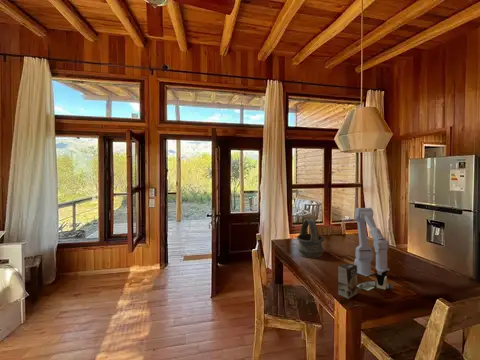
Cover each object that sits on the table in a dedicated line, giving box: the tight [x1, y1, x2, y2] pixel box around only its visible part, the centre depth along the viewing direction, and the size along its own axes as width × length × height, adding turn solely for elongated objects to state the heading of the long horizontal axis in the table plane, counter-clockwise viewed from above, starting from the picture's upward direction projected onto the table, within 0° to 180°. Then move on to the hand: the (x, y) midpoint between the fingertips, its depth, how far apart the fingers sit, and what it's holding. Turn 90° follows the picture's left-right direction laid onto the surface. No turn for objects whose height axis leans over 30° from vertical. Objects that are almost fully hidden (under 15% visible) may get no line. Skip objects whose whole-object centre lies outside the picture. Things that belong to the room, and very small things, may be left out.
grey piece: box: [358, 280, 394, 291], centre depth 141 cm, size 6×19×3 cm, turn 87°
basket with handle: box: [296, 218, 325, 259], centre depth 201 cm, size 22×23×30 cm
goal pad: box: [357, 282, 376, 292], centre depth 142 cm, size 7×7×1 cm
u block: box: [376, 275, 388, 290], centre depth 142 cm, size 4×5×6 cm
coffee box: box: [337, 262, 358, 300], centre depth 134 cm, size 9×6×16 cm
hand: (381, 282), depth 142 cm, fingers open, 7 cm apart
